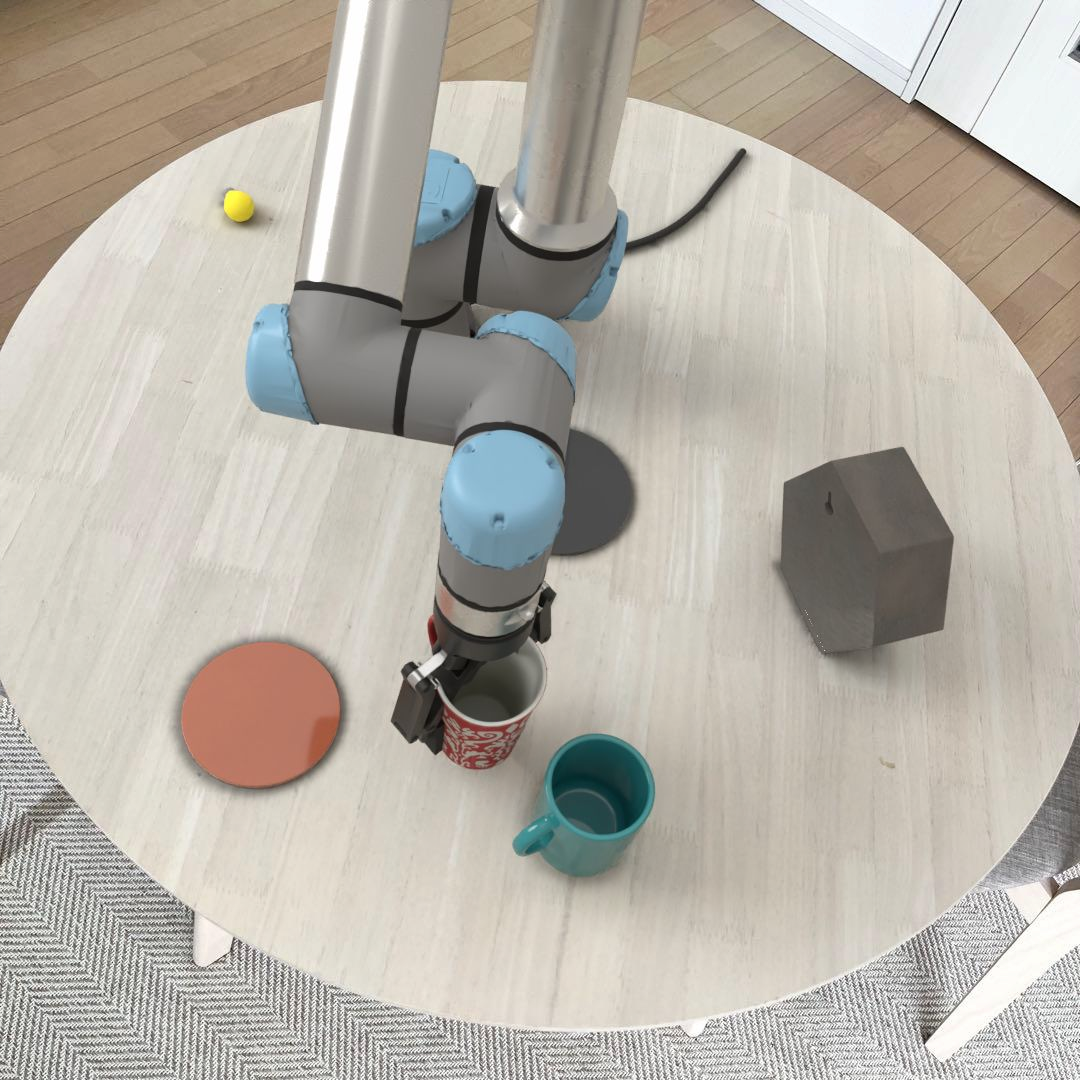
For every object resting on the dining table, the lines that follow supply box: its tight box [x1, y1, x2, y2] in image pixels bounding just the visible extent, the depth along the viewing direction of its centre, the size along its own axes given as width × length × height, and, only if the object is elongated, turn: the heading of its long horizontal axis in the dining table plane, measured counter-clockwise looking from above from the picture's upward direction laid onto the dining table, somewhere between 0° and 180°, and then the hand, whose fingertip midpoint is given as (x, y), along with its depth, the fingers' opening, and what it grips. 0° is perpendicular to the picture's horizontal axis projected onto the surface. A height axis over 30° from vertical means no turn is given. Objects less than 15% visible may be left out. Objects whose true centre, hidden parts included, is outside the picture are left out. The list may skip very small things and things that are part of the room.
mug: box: [427, 614, 548, 771], centre depth 96 cm, size 13×9×14 cm
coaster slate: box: [550, 428, 633, 556], centre depth 119 cm, size 16×16×1 cm
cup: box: [511, 733, 656, 878], centre depth 95 cm, size 9×12×11 cm
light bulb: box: [223, 187, 255, 223], centre depth 134 cm, size 3×6×4 cm, turn 27°
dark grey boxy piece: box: [780, 446, 955, 654], centre depth 109 cm, size 17×8×21 cm
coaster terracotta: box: [180, 641, 341, 789], centre depth 102 cm, size 14×14×1 cm
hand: (467, 712), depth 101 cm, fingers closed on mug, 8 cm apart
